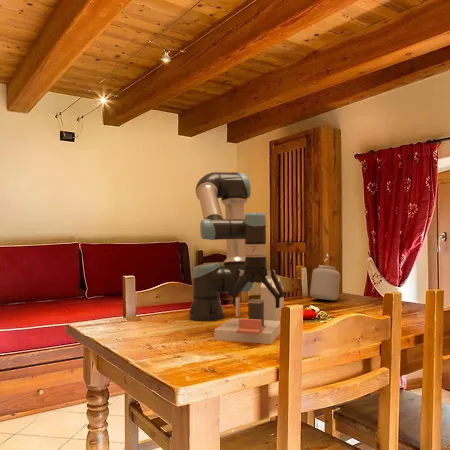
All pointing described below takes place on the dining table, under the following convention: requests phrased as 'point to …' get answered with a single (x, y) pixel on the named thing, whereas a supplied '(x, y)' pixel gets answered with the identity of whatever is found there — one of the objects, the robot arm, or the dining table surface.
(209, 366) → the dining table surface
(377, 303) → the dining table surface
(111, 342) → the dining table surface
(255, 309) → the plug
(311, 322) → the dining table surface
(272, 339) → the socket plate
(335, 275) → the jar
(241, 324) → the salmon red stepped block
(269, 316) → the milk carton
